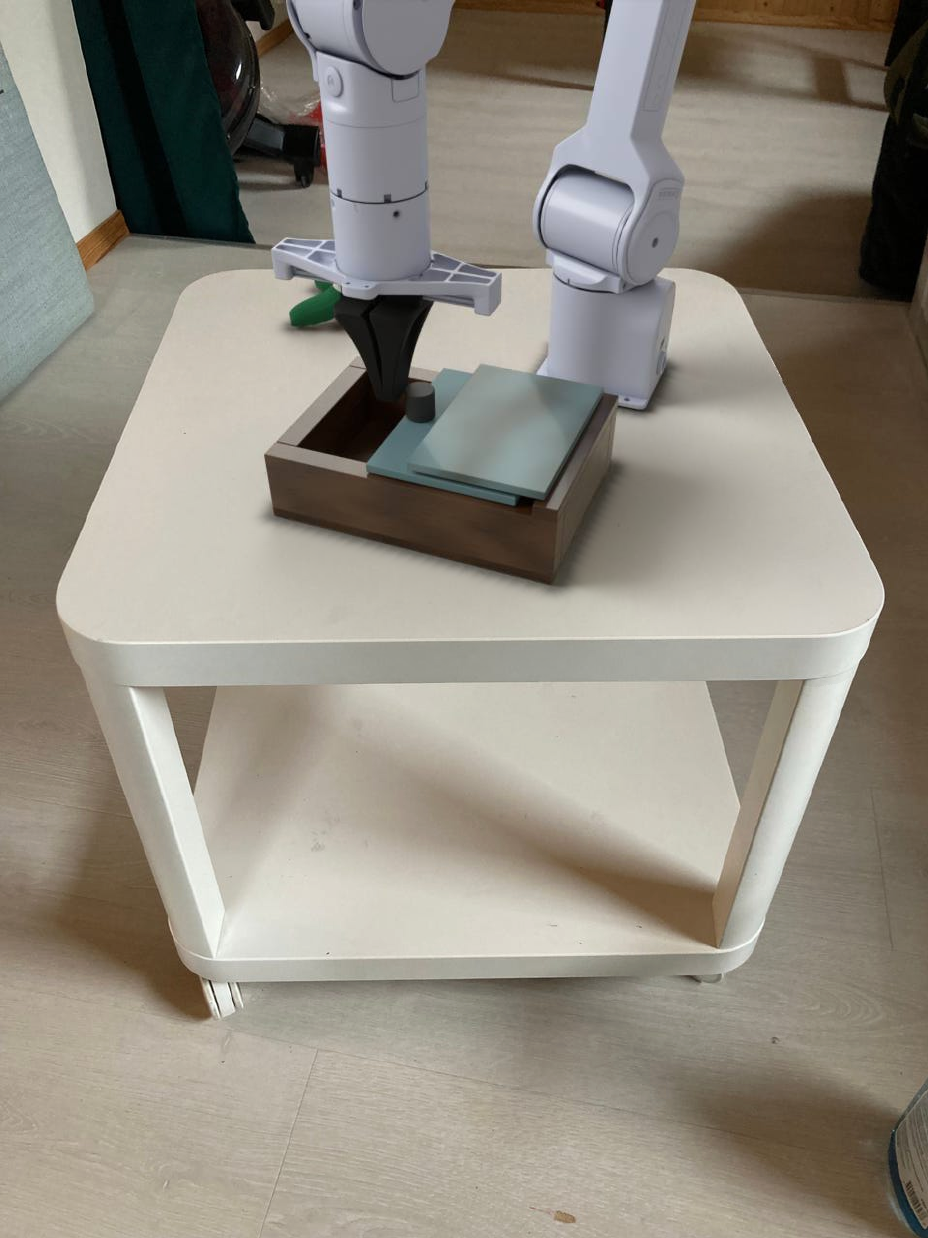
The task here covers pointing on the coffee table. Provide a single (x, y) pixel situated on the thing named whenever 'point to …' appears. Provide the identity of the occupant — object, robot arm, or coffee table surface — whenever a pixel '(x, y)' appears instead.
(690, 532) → the coffee table surface
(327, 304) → the green and white boots
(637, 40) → the robot arm
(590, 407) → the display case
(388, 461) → the sliding lid with knob
